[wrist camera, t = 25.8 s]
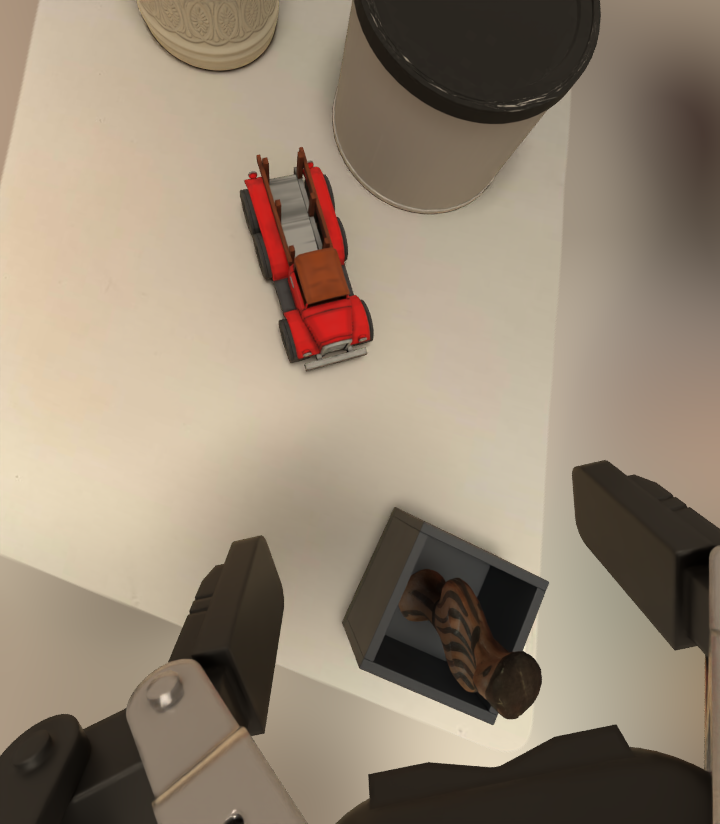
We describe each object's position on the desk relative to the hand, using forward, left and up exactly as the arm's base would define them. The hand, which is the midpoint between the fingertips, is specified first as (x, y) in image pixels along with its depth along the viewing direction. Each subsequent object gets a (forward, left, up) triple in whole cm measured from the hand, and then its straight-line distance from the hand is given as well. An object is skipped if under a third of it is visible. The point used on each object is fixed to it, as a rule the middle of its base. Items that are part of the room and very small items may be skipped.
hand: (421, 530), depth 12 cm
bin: (-6, -14, -32) cm, 35 cm away
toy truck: (+16, +9, -32) cm, 37 cm away
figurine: (-6, -14, -31) cm, 34 cm away
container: (+36, +6, -32) cm, 49 cm away
